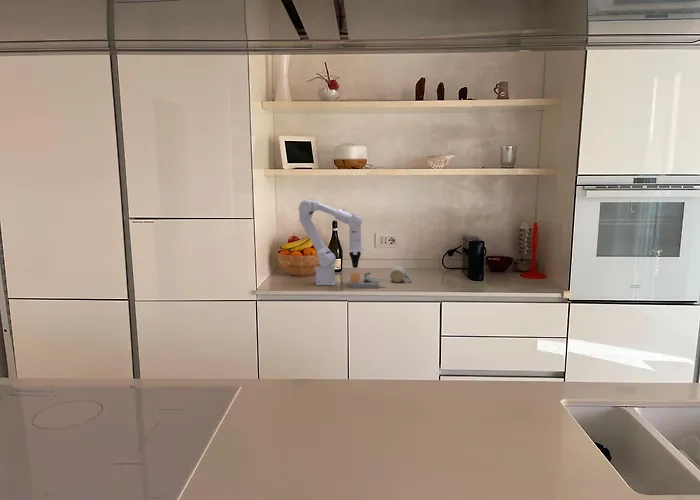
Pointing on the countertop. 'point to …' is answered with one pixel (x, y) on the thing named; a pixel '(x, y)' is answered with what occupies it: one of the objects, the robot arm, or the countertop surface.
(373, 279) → the lever handle
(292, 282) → the countertop surface
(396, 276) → the ceramic mug
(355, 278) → the orange cube
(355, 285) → the box
